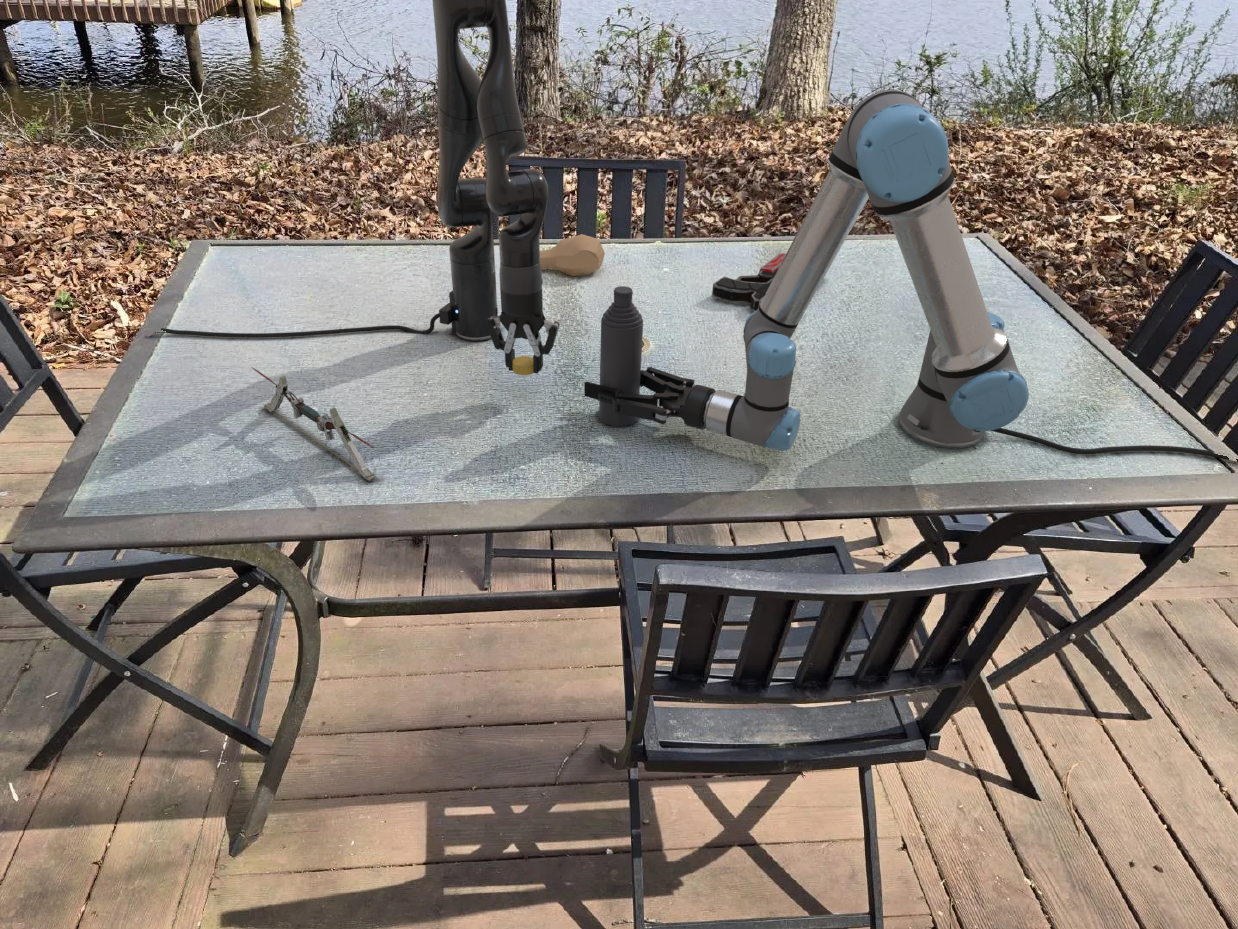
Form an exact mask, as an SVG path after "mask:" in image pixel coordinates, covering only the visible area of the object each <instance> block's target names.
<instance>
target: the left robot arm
mask: <svg viewBox="0 0 1238 929" xmlns="http://www.w3.org/2000/svg"><path fill="white" fill-rule="evenodd" d="M432 12H433V22H434V32H435V44H436V58H437V92H436V93H437V96H436V97H437V98H436V102H437V105H436V106H437V108H436V109H437V110H436V111H437V130H438V131H437V132H438V149H439V151H438V154H439V157H438V177H437V199H436V200H437V211H438V216H439V220H440V221H441V223H442V224H443V225H444V226H446V227H448V228H465V227H473V228H472V229H471V230H470V231H469V232H467V233H466V234H464V235H461V236H460V237H458V238H456V239H455V240H453V241H452V242H451V243H450V245H449V247H448V251H449V263H450V264H449V265H450V275H451V276H450V277H451V286H452V290H451V291H450V292H448V297H449V302H448V303H446V304H445V305H444V306H442V307H440V309H438V313H436V314H434V315H433V316H432V317H431V318H430V320H429V328H427V329H425V330H418V329H414V328H411V327H407V326H404V325H399V324H398V325H397V324H395V325H394V324H393V325H373V326H362V327H349V328H337V329H335V328H334V329H324V330H309V331H308V330H307V331H291V332H255V333H253V332H251V333H249V332H217V331H215V332H213V331H200V330H184V329H183V330H182V329H171V328H164V327H160V328H161V330H163V331H166V332H161V333H163V334H170V335H178V336H179V335H181V336H197V337H198V336H199V337H213V338H238V339H239V338H243V339H250V338H251V339H252V338H253V339H254V338H255V339H257V338H258V339H262V338H264V339H265V338H266V339H267V338H294V337H309V336H310V337H311V336H312V337H313V336H323V335H324V336H326V335H337V334H350V333H351V334H352V333H362V332H363V333H365V332H377V331H391V330H392V331H393V330H395V331H396V330H397V331H403V332H406V333H407V332H408V333H411V334H418V335H428V334H430V333H432V332H433V331H434V330H435V324H436V321H437V320H438V319H439V323H440V324H443V325H448V326H449V325H451V332H452V334H453V335H456V336H457V337H458V338H460V339H462V340H464V341H470V342H479V341H481V342H482V341H486V340H487V341H488V340H491V342H492V344H493V346H494V348H495V349H496V350H501V351H503V353H504V364H505V367H506V368H508V371H510V372H513V370H512V364H513V363H512V361H513V360H514V358H516V351H515V350H516V349H515V348H514V347H515V343H516V339H524V340H528V344H529V346H530V347H531V349H532V352H533V356H532V357H533V367H534V373H533V374H537V375H538V374H539V372H541V371H542V369H543V367H544V355H549V354H550V353H551V351H552V350H553V347H554V344H555V341H556V338H557V336H558V332H559V328H560V325H561V324H560V322H559V321H554V322H553V321H551V320H550V321H549V320H547V319H546V316H545V314H544V305H543V304H544V303H543V300H544V299H543V284H544V283H543V282H544V281H543V273H542V269H541V265H540V251H541V245H540V239H541V238H540V237H541V233H542V228H543V223H544V220H545V215H546V212H547V208H548V204H549V198H550V197H549V196H550V193H549V184H548V182H547V179H546V177H545V176H544V174H543V173H542V172H541V171H539V170H537V169H535V168H526V169H520V170H512V171H507V163H508V161H509V160H511V159H513V158H516V157H518V156H520V155H522V154H523V153H525V152H526V150H527V148H528V144H527V137H526V132H525V128H524V123H523V119H522V115H521V114H522V113H521V111H520V106H519V102H518V96H517V89H516V84H515V83H516V82H515V75H514V63H513V54H512V45H511V44H512V43H511V34H510V26H509V18H508V9H507V0H432ZM476 28H477V29H478V28H486V29H487V34H488V41H489V49H488V57H487V61H486V65H485V69H484V73H483V75H482V79H481V77H480V76H479V74H478V73H477V71H475V69H474V67H473V66H472V65H471V63H470V62H469V61H468V59H467V57H466V55H465V53H464V52H463V50H462V48H461V46H460V41H459V33H460V31H461V30H466V29H476ZM482 143H483V144H484V150H485V151H484V153H485V178H484V177H473V178H470V177H469V178H460V177H461V176H460V175H461V173H462V171H463V169H464V167H465V165H466V164H467V163H468V162H469V160H470V159H471V158H472V156H473V155H474V154H475V152H476V151H477V150H478V148H479V147H480V146H481V145H482ZM494 214H495V215H496V216H497V217H504V218H505V217H511V216H517V215H519V217H518V219H517V220H516V221H515V222H513V223H510V224H509V225H507V226H505V227H503V228H502V229H501V230H500V231H499V234H498V246H499V263H500V264H499V291H500V308H501V311H500V314H499V309H498V296H497V295H498V294H497V293H498V292H497V276H496V275H497V274H496V261H495V259H496V258H495V239H494ZM501 324H502V326H503V327H504V328H505V330H506V331H507V334H506V339H504V336H503V333H502V331H501V328H500V327H501ZM543 327H544V328H545V334H547V337H546V341H545V344H544V345H543V342H542V336H541V333H540V330H542V329H543ZM158 333H160V332H157V333H156V334H158Z"/></svg>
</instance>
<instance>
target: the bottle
mask: <svg viewBox="0 0 1238 929" xmlns="http://www.w3.org/2000/svg"><path fill="white" fill-rule="evenodd" d="M633 294H634V291H633V289H632V288H631V287H630V286H626V285H625V286H624V285H623V286H621V285H619V286H616V287H615V288H614V289H613V302H611V305H609V306H608V308H607V309H606V310H605V312H604V313H602V316H601V319H600V349H599V350H600V351H599V352H600V357H599V358H600V359H599V361H600V362H599V385H602V386H606V387H609V388H613V389H619V393H626V394H641V393H640V391H641V387H640V375H641V370H642V353H643V336H644V335H643V334H644V319H643V316H642V314H641V313H640V311H639V310H638V308H637V307H636V306H635V303H633ZM598 402H599V403H598V418H599V420H600V421H601V422H602V423H604V424H606V425H609V426H612V427H628V426H631V425H633V424H635V423H636V422H637V421H638V420H639V418H637V417H632V416H627V415H621V414H616V413H614V405H613V404H609V403H606V402H602V401H599V400H598Z"/></svg>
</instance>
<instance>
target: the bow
mask: <svg viewBox="0 0 1238 929" xmlns="http://www.w3.org/2000/svg"><path fill="white" fill-rule="evenodd" d="M250 368H251V369H252V370H254V371H255V372H257V374H259V375H260V376H262V377H263V378H264V379H266V380H267V381H269V382H270V383H272V384H273V385H275V386H274V388H275V392H274V394H273V396H272V397H271V399H270V402H268V403H265V404H263V407H264V409H265V410H266V411H267V412H269V413H272V412H273V413H274V414H276V415H277V416H279V418H282V419H283V420H284V421H286V422H287V423H288V424H290V425H292V426H293V427H294V428H296V429H297V430H299V431H300V432H302V433H303V434H304V435H306V436H308V438H310V439H312V440H313V441H315V442H316V443H317V444H319V445H320V446H321V447H323V448H325V449H326V450H328V451H329V452H330V453H332V454H334V455H335V456H336V457H338V458H339V459H341V461H343V462H345V463H346V464H348V465H349V466H350V467H351V468H354V469H355V470H356V471H358V472H359V473H360V475H361V476H362V477H363V479H366V480H367V481H368V482H370V481H372V479H376V475H375V474H374V473H373V472H372V471H371V470H370V469H369V468H368V466H367V465H366V463H365V461H364V458H362V456H361V454H360V452H359V451H358V448H357V446H356V444H355V443H354V440H353V439H352V437H353V438H355V439H357V440H358V441H360V442H362V443H364V444H365V445H366V446H368V447H370V448H372V449H375V446H373V445H372V444H371V443H369V442H368V441H366V440H365V439H362V438H361V437H360V436H358V435H357V434H354V433H351V432H350V431H349V429H348V428H347V426H346V424H345V422H344V421H343V419H342V418H341V416H340V414H339V412H338V410H337V408H336V407H332V408H330V409H329V414H328V413H325V414H323V415H321V414H320V413H319V411H317V410H316V409H314V408H312V407H311V406H310V405H307V404H306V403H305V401H304V400H305V399H304V398H303V397H300V396H299V397H297V395H295V393H293V392H292V391H291V390H288V389H289V384H288V380H287V376H286V375H282V376H279V380H278V383H277V384H276V383H275V382H274V381H273V380H272V378H269V377H268V376H267V375H265V374H264V373H262V372H261V371H260V370H258V369H256V368H255V367H252V366H251V367H250ZM284 398H286V400H287V401H288V402H289V403H290V405H291V407H292V410H293V412H292V413H293V418H294V419H295V420H297V419H298V418H302V417H303V416H305V417H306V418H308V419H309V420H310V421H312V422H314V423H316V427H317V429H318V431H320V432H322V433H324V436H325V440H326V441H327V442H330V441H332V440H335V436H334V432H333V430H335V431H336V432H337V434H338V436H339V437H340V440H341V441H342V443H343V445H344V447H345V449H346V451H347V453H348V455H349V456H350V458H351V460H352V463H353V464H354V465H355V466H354V465H353V464H351V462H349V461H348V460H346V459H344V458H343V457H342V456H340V455H338V454H337V453H335V452H334V451H333V450H331V449H330V448H328V447H327V446H325V445H324V444H323V443H322V442H320V441H318V440H316V438H314V437H313V436H311V435H310V434H308V433H306V432H305V431H304V430H302V429H301V428H299V427H298V426H296V425H295V424H294V423H292V422H290V421H289V420H288V419H287V418H285V417H283V416H282V415H281V414H279V413H278V412H276V411H277V410H279V409H280V408H281V404H282V403H283V400H284ZM351 436H352V437H351Z"/></svg>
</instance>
